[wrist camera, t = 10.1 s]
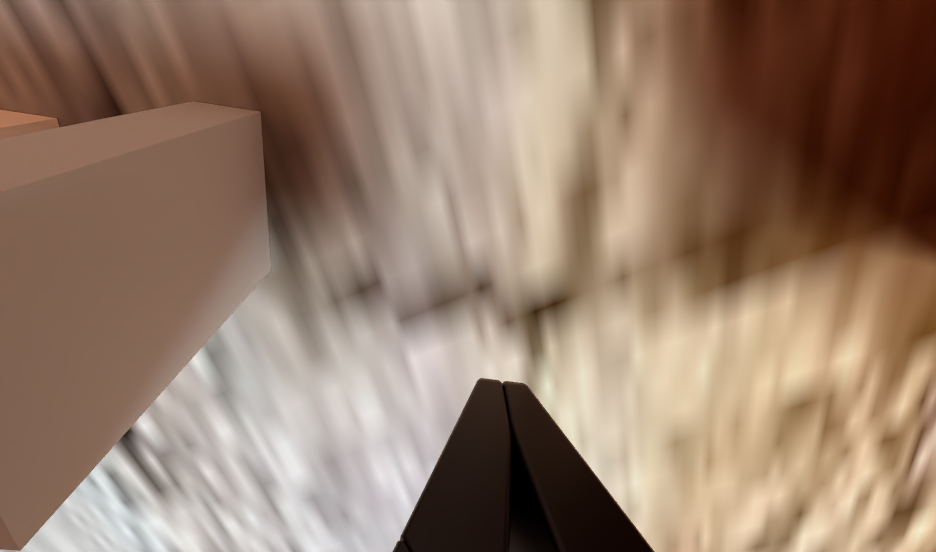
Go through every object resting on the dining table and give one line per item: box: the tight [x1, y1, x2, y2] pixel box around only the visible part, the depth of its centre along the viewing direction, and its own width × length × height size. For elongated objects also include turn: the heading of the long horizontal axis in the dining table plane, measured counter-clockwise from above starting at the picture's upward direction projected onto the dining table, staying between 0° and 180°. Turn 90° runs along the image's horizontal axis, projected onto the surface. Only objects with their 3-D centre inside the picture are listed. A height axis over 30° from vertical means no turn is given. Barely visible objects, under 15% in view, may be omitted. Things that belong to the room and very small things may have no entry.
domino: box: [0, 101, 271, 551], centre depth 8 cm, size 4×2×8 cm, turn 171°
